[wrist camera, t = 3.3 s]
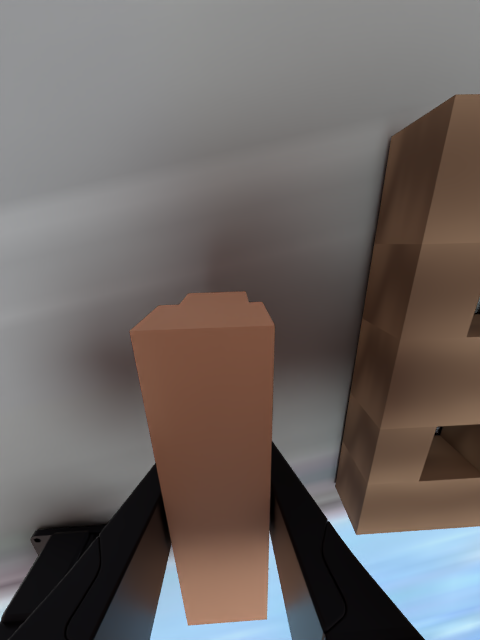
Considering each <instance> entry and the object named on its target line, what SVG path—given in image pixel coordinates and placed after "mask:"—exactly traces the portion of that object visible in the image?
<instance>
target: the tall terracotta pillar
mask: <svg viewBox="0 0 480 640" xmlns="http://www.w3.org/2000/svg"><path fill="white" fill-rule="evenodd" d="M130 336H131V341H132V347H133V352H134V357H135V362H136V367H137V372H138V377H139V382H140V387H141V392H142V397H143V402H144V407H145V412H146V417H147V422H148V427H149V432H150V437H151V442H152V447H153V452H154V457H155V462H156V467H157V472H158V477H159V482H160V487H161V492H162V497H163V502H164V507H165V512H166V517H167V522H168V527H169V532H170V537H171V542H172V547H173V552H174V557H175V562H176V567H177V573H178V578H179V583H180V588H181V593H182V598H183V603H184V608H185V613H186V618H187V623H188V625H200V624H213V623H225V622H238V621H251V620H264V619H267V595H268V559H269V522H270V485H271V448H272V412H273V375H274V338H275V325H274V323H273V321H272V319H271V317H270V316H269V314H268V312H267V310H266V308H265V306H264V305H263V303H262V302H249V301H248V298H247V295H246V291H242V292H211V293H188V294H187V296H186V297H185V298H184V299H183V300H182V302H181V303H180V304H179V305H159V306H157V307H156V308H155V309H154V310H153V311H152V312H151V313H149V314H148V315H147V316H146V317H145V318H144V319H143V320H141V321H140V322H139V323H138V324H137V325H136V326H135V327H133V328H132V329H131V330H130Z"/></svg>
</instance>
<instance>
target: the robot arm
mask: <svg viewBox="0 0 480 640" xmlns="http://www.w3.org/2000/svg"><path fill="white" fill-rule="evenodd" d="M269 530H270V535H271V540H272V545H273V550H274V555H275V560H276V564H277V569H278V574H279V579H280V584H281V589H282V593H283V598H284V603H285V608H286V613H287V618H288V622H289V627H290V632H291V637H292V640H425V639H424V638H423V637H422V636H421V635H420V634H419V632H418V631H417V630H416V629H415V628H414V627H413V625H412V624H411V623H410V622H409V621H408V619H407V618H406V617H405V616H404V615H403V614H402V612H401V611H400V610H399V609H398V608H397V606H396V605H395V604H394V603H393V602H392V600H391V599H390V598H389V597H388V596H387V595H386V593H385V592H384V591H383V590H382V589H381V587H380V586H379V585H378V584H377V583H376V581H375V580H374V579H373V578H372V577H371V575H370V574H369V573H368V572H367V571H366V569H365V568H364V567H363V566H362V564H361V563H360V562H359V561H358V560H357V558H356V557H355V556H354V555H353V553H352V552H351V551H350V549H349V548H348V547H347V545H346V544H345V543H344V541H343V540H342V539H341V537H340V536H339V535H338V533H337V532H336V530H335V529H334V528H333V526H332V525H331V523H330V522H329V521H327V518H326V516H325V515H324V514H323V512H322V511H321V509H320V508H319V507H318V505H317V504H316V502H315V501H314V500H313V498H312V497H311V495H310V494H309V492H308V491H307V490H306V488H305V487H304V485H303V484H302V483H301V481H300V480H299V478H298V477H297V475H296V474H295V473H294V471H293V470H292V468H291V467H290V466H289V464H288V463H287V461H286V460H285V459H284V457H283V456H282V454H281V453H280V451H279V450H278V449H277V447H276V446H275V444H274V443H273V442H272V448H271V485H270V522H269ZM30 540H31V542H32V544H33V546H34V548H35V550H36V552H37V554H38V558H37V559H36V561H35V563H34V564H33V566H32V567H31V569H30V571H29V572H28V574H27V576H26V577H25V579H24V581H23V582H22V584H21V586H20V587H19V589H18V590H17V592H16V594H15V595H14V597H13V599H12V600H11V602H10V604H9V605H8V607H7V608H6V610H5V612H4V613H3V615H2V618H1V622H0V640H150V636H151V631H152V627H153V623H154V618H155V614H156V609H157V605H158V601H159V596H160V592H161V587H162V583H163V578H164V574H165V570H166V565H167V561H168V556H169V552H170V547H171V543H172V542H171V537H170V532H169V527H168V522H167V517H166V512H165V507H164V502H163V497H162V492H161V487H160V482H159V477H158V472H157V467H156V463H155V465H154V466H153V467H152V468H151V470H150V471H149V472H148V473H147V475H146V476H145V477H144V478H143V480H142V481H141V482H140V483H139V485H138V486H137V487H136V488H135V490H134V491H133V492H132V494H131V495H130V496H129V497H128V499H127V500H126V501H125V502H124V504H123V505H122V506H121V507H120V509H119V510H118V511H117V512H116V514H115V515H114V516H113V518H112V519H111V520H110V521H109V523H108V524H107V525H105V526H90V527H74V528H59V529H44V530H37V531H35V533H34V534H33V536H32V537H31V539H30Z"/></svg>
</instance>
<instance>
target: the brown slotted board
mask: <svg viewBox="0 0 480 640" xmlns="http://www.w3.org/2000/svg"><path fill="white" fill-rule="evenodd" d="M479 297H480V94H466V95H454V96H453V97H451V98H450V99H448V100H447V101H445V102H444V103H442V104H441V105H439V106H438V107H436V108H435V109H433V110H432V111H430V112H429V113H427V114H425V115H424V116H422V117H421V118H419V119H418V120H416V121H415V122H413V123H412V124H410V125H409V126H407V127H406V128H404V129H403V130H401V131H400V132H398V133H397V134H395V135H393V136H392V137H391V143H390V150H389V156H388V162H387V168H386V175H385V181H384V187H383V193H382V199H381V206H380V212H379V218H378V224H377V230H376V237H375V243H374V249H373V255H372V262H371V268H370V274H369V280H368V286H367V293H366V299H365V305H364V311H363V317H362V324H361V330H360V336H359V342H358V349H357V355H356V361H355V367H354V373H353V380H352V386H351V392H350V398H349V404H348V411H347V417H346V423H345V429H344V436H343V442H342V448H341V454H340V460H339V467H338V473H337V479H336V485H335V487H336V489H337V491H338V494H339V496H340V498H341V501H342V503H343V505H344V508H345V510H346V512H347V515H348V517H349V519H350V521H351V524H352V526H353V528H354V531H355V533H356V535H360V534H374V533H389V532H403V531H418V530H432V529H446V528H461V527H475V526H480V314H474V312H475V309H476V306H477V303H478V300H479ZM437 426H443V429H442V431H441V434H440V436H434V434H435V431H436V428H437Z"/></svg>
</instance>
